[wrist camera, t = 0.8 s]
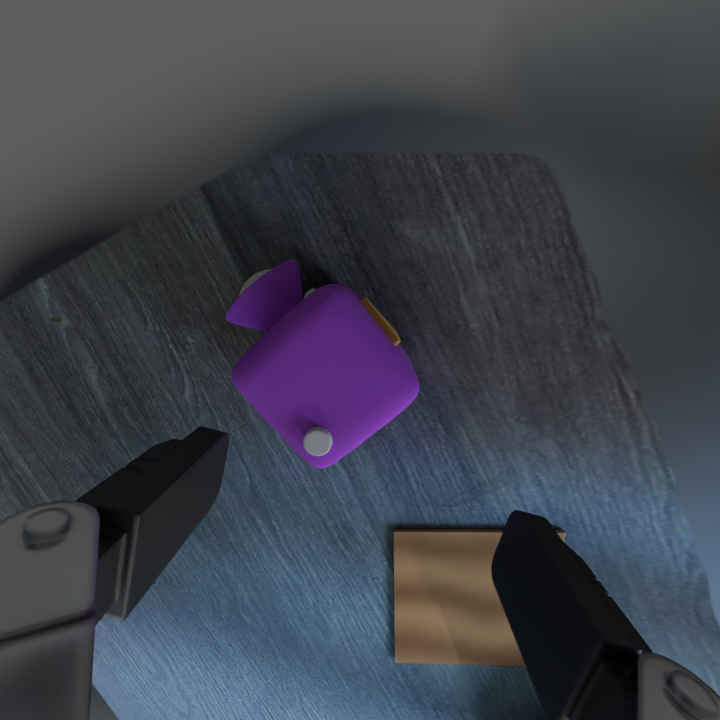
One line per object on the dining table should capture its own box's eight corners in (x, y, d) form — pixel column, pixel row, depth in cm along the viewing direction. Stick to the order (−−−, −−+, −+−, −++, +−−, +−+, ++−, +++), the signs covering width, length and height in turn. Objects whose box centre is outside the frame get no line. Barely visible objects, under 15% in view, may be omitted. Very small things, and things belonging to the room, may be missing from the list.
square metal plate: (393, 528, 33) (393, 531, 33) (563, 529, 33) (565, 532, 32) (395, 658, 37) (395, 662, 36) (548, 663, 36) (550, 667, 36)
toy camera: (298, 239, 28) (255, 215, 18) (427, 343, 29) (452, 372, 20) (226, 341, 30) (154, 369, 20) (349, 434, 31) (337, 501, 22)
